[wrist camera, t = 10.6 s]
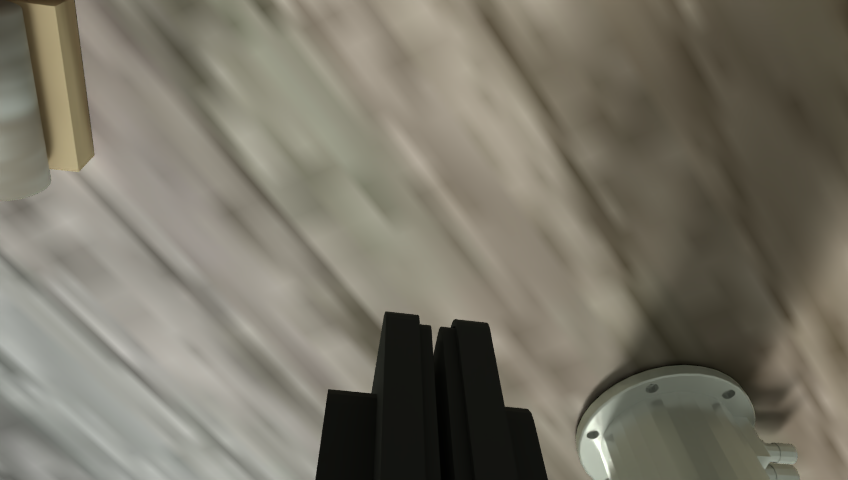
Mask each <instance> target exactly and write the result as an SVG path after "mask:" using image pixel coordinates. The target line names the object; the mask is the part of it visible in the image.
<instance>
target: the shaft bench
mask: <svg viewBox="0 0 848 480" xmlns="http://www.w3.org/2000/svg"><path fill="white" fill-rule="evenodd" d="M93 156H94V149H93V141H92V133H91V126H90V118H89V110H88V103H87V95H86V87H85V79H84V72H83V64H82V56H81V48H80V41H79V33H78V25H77V18H76V10H75V2H74V0H0V201H11V200H18V199H23V198H27V197H30V196H33V195H35V194H38V193H40V192H42V191H43V190H45V189H46V188H47V187H48V186H49V185H50V183H51V175H50V170H49V169H56V170H65V171H75V172H79V171H80V170H81V169H82V168H83V167H84V166H85V165H86V164H87V163H88V162H89V160H90V159H91V158H92V157H93Z"/></svg>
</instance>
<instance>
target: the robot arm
mask: <svg viewBox="0 0 848 480" xmlns="http://www.w3.org/2000/svg"><path fill="white" fill-rule="evenodd" d="M755 419H756V418H755V412H754V407H753V405H752V403H751V401H750V399H749V397H748V396H747V394H746V393H745V391H744V390H743V389H742V387H741V386H740V384H739V383H737V382H736V381H735V380H734V379H732V378H731V377H730V376H728V375H726V374H724V373H722V372H720V371H717V370H714V369H710V368H706V367H702V366H692V365H677V366H665V367H660V368H655V369H651V370H647V371H644V372H641V373H638V374H636V375H633V376H631V377H629V378H627V379H625V380H623V381H621V382H619V383H617V384H615V385H614V386H612V387H611V388H610V389H608V390H607V391H605V392H604V393H602V394H601V395H600V396H599V397H598V398H597V399H596V400H595V401H594V402H593V403H592V404H591V405H590V407H589V408H588V409H587V411H586V412H585V413H584V415H583V417H582V419H581V421H580V423H579V425H578V428H577V434H576V449H577V452H578V455H579V459H580V462H581V464H582V466H583V468H584V470H585V471H586V473H587V474H588V475H589V476H590V477H591V478H592V479H593V480H800V476H799V474H798V471H797V469H796V468H795V467H794V466H793V465H789V464H794V463H795V462H796V461H797V458H798V456H797V450H796V448H795V447H794V446H793V445H792V444H783V443H771V444H769V443H765V442H764V441H763V440H761V439H760V438H759V436H758V435H757V433H756V431H755V430H754V427H755ZM769 462H773V463H769ZM774 463H781V464H774ZM316 480H548V478H547V474H546V470H545V466H544V461H543V457H542V453H541V449H540V445H539V440H538V436H537V432H536V428H535V423H534V420H533V417H532V414H531V412H530V411H529V410H528V409H522V408H512V407H505V406H504V401H503V395H502V390H501V385H500V380H499V374H498V369H497V364H496V358H495V353H494V348H493V343H492V337H491V332H490V327H489V324H488V323H484V322H475V321H466V320H457V319H455V320H453V322H452V325H451V328H448V327H440V329H439V332H438V336H437V341H436V345H435V350H434V355H433V345H432V330H431V326H430V325H421V324H420V321H419V315H413V314H404V313H395V312H385V314H384V319H383V325H382V331H381V338H380V344H379V350H378V356H377V362H376V368H375V375H374V381H373V387H372V393H361V392H351V391H341V390H330V389H328V394H327V401H326V408H325V416H324V423H323V430H322V437H321V444H320V451H319V458H318V465H317V472H316Z"/></svg>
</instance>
